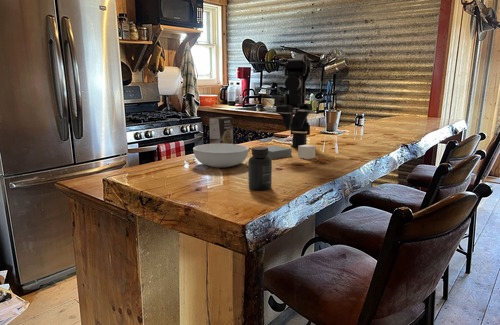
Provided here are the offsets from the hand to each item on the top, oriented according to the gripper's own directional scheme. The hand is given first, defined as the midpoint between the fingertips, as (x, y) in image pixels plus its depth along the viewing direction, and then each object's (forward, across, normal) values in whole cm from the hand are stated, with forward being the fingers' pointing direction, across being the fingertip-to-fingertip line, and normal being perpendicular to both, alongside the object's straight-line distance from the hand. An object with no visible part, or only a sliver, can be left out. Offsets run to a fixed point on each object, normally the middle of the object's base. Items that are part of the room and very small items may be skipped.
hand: (294, 128), depth 150 cm
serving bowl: (+12, +31, -12) cm, 36 cm away
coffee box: (+12, +16, -27) cm, 34 cm away
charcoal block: (+12, +3, -8) cm, 15 cm away
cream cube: (+12, -2, +5) cm, 13 cm away
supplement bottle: (+12, +46, +19) cm, 51 cm away
